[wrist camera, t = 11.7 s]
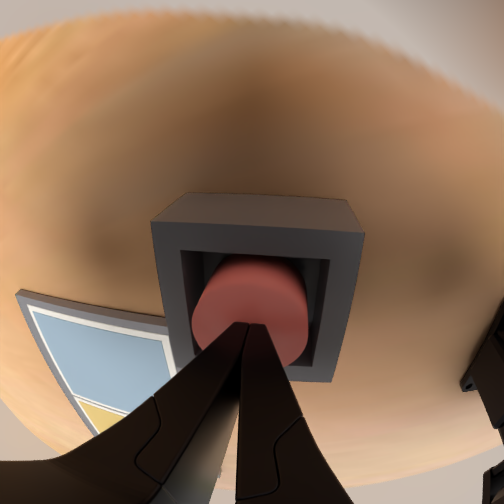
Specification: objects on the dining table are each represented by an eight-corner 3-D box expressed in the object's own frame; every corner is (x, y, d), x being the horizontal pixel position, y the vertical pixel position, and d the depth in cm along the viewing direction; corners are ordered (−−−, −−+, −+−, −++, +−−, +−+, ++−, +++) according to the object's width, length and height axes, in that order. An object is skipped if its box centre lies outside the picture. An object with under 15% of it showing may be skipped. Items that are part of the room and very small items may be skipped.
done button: (311, 252, 9) (315, 288, 7) (301, 334, 10) (301, 376, 8) (206, 246, 9) (185, 278, 7) (212, 327, 11) (197, 366, 9)
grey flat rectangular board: (193, 321, 13) (189, 331, 12) (221, 472, 21) (219, 478, 20) (20, 289, 14) (13, 295, 14) (103, 440, 22) (100, 446, 22)
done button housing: (346, 200, 10) (364, 232, 7) (326, 329, 12) (331, 382, 10) (186, 192, 10) (150, 221, 8) (197, 318, 13) (176, 367, 10)
